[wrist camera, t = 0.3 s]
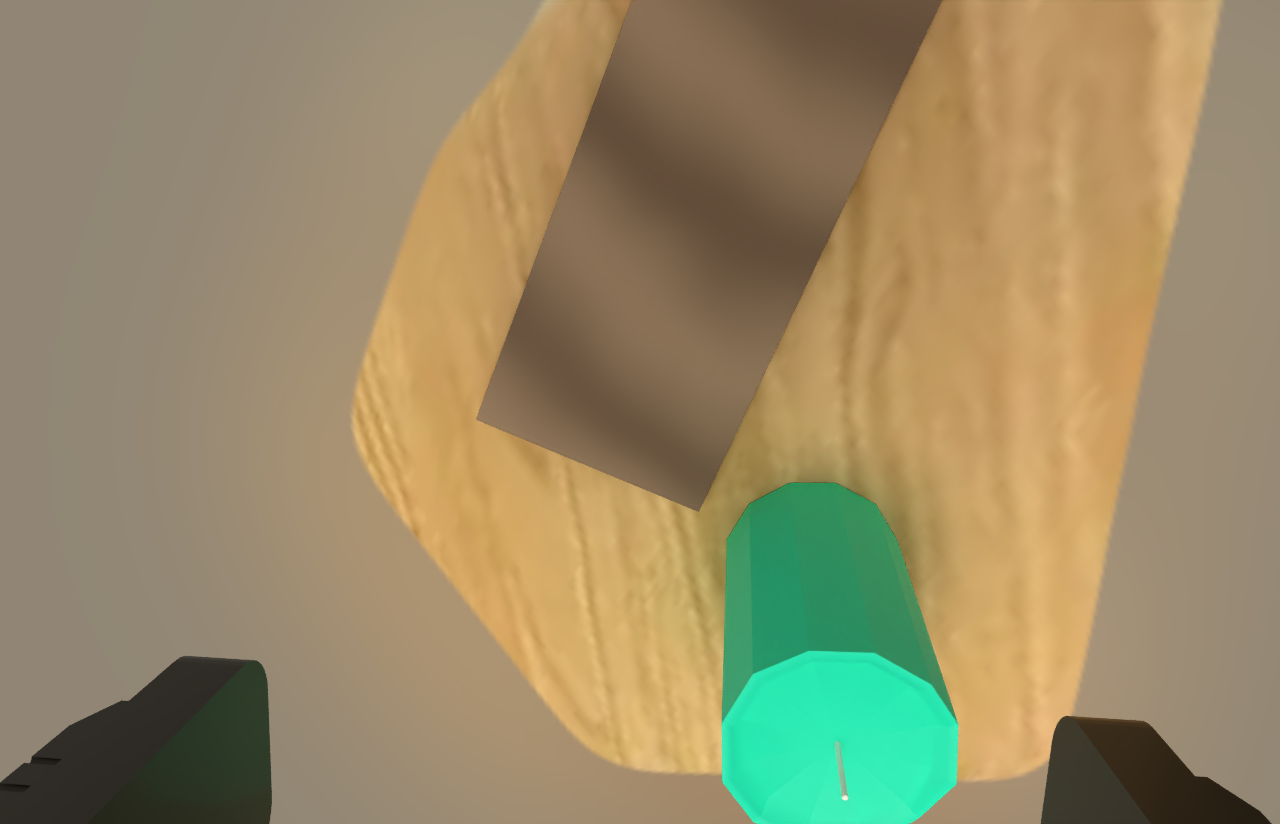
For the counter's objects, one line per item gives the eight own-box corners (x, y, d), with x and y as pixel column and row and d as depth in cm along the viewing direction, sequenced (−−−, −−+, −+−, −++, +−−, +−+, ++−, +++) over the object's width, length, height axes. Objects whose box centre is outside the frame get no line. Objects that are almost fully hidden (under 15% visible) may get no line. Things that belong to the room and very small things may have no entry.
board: (719, -225, 27) (718, -235, 26) (986, -106, 28) (994, -112, 27) (483, 409, 34) (476, 419, 33) (699, 499, 34) (698, 511, 33)
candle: (750, 650, 36) (753, 916, 25) (703, 503, 34) (685, 716, 23) (916, 615, 35) (1000, 876, 24) (877, 461, 33) (948, 664, 22)
